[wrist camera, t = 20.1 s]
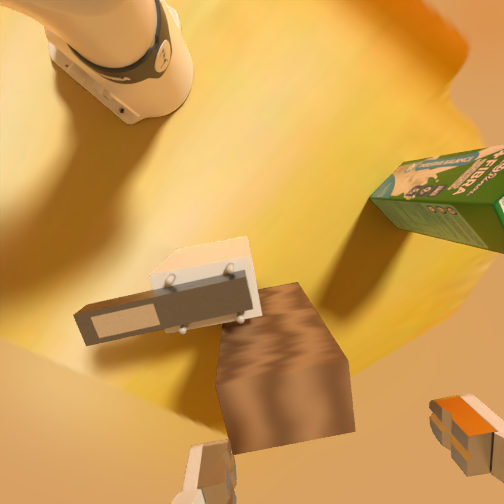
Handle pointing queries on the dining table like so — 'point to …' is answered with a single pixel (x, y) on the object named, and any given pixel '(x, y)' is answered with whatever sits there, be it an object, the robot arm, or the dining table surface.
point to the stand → (282, 375)
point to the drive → (164, 308)
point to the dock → (208, 274)
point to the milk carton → (449, 197)
